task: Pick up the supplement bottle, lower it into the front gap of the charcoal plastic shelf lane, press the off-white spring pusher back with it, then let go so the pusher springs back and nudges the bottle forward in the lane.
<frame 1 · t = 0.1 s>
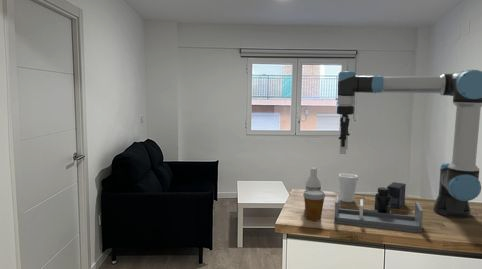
hand: (343, 151, 173), 28 cm above the counter, tool pointing down, fingers open, 13 cm apart
bath foam: (312, 209, 177), on the counter
pusher: (368, 210, 161), point 5 cm above the counter, slide at 3.0 cm
supplement bottle: (381, 214, 171), on the counter
disposable coffee cup: (313, 219, 164), on the counter
foam cup: (347, 200, 192), on the counter
shelf lane: (375, 221, 161), on the counter
small box: (395, 205, 184), on the counter
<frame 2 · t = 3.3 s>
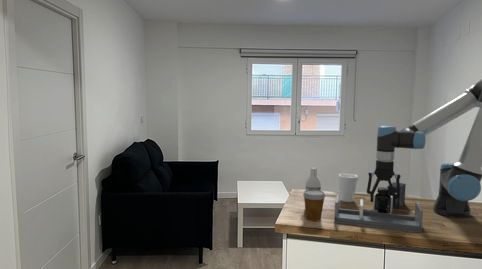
hand: (382, 209, 171), 2 cm above the counter, tool pointing down, fingers closed on supplement bottle, 7 cm apart
supplement bottle: (381, 214, 171), on the counter, touching gripper
everything else where it was.
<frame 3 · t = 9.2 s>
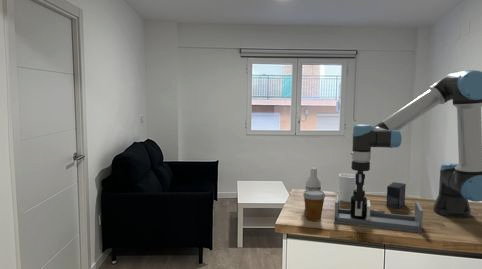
hand: (358, 212, 162), 3 cm above the counter, tool pointing down, fingers closed on supplement bottle, 7 cm apart
pusher: (375, 211, 160), point 5 cm above the counter, slide at 5.8 cm, touching supplement bottle
supplement bottle: (357, 217, 163), point 1 cm above the counter, touching gripper, pusher
everything else where it was.
when the fingers open (3 cm above the counter, at t = 9.2 s): supplement bottle moves 3 cm, resting on shelf lane.
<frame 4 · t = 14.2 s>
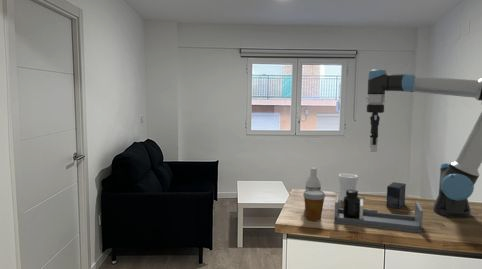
hand: (373, 149, 174), 29 cm above the counter, tool pointing down, fingers open, 13 cm apart
pusher: (368, 210, 161), point 5 cm above the counter, slide at 3.0 cm
supplement bottle: (351, 217, 163), point 1 cm above the counter, touching shelf lane
everything else where it was.
at the end: supplement bottle inside the target area (0.8 cm from its centre), point 0.6 cm above the counter; supplement bottle tilted 0°; pusher slide at 3.0 cm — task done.
